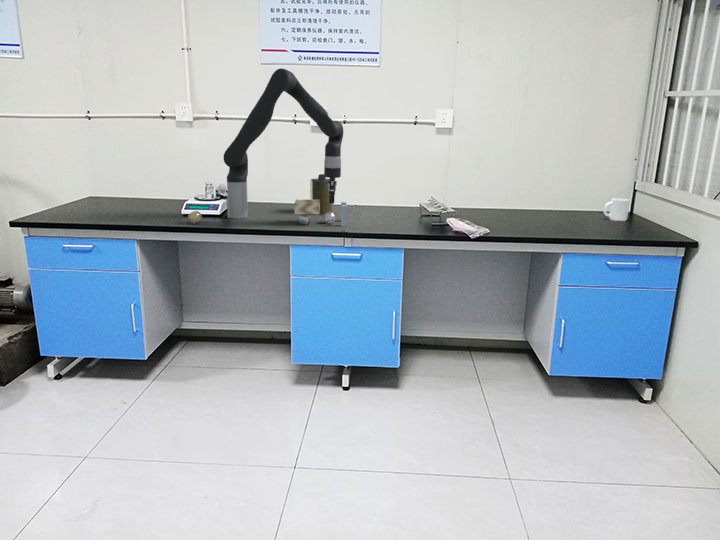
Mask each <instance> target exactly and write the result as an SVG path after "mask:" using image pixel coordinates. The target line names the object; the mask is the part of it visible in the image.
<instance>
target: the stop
mask: <svg viewBox="0 0 720 540" xmlns="http://www.w3.org/2000/svg"><path fill="white" fill-rule="evenodd" d="M340 222H341V224H340V226H341V227H347V226H348V224H347V223H348V205H347V201H340Z"/></svg>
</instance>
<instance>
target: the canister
mask: <svg viewBox="0 0 720 540" xmlns="http://www.w3.org/2000/svg"><path fill="white" fill-rule="evenodd" d="M329 179H330V178H327V177H325V176H324V173H319V174H318V177H317V178H311V200H320V212H319V214H317V215H316V216H324V215H325V213H326V212H329V211H330V212H333V204H330V203H329V200H330V195H329V191H328V181H330V180H329Z"/></svg>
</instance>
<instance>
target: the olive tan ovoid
mask: <svg viewBox="0 0 720 540" xmlns="http://www.w3.org/2000/svg"><path fill="white" fill-rule="evenodd" d="M202 217H203V216H202V213H201V212H200V211H199V210H193V211H192V212H190V213H189V214H188V215H187V221H188V222H189V223H190V224H197V223H198V222H200V221H201V220H202Z"/></svg>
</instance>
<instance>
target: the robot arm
mask: <svg viewBox="0 0 720 540" xmlns="http://www.w3.org/2000/svg"><path fill="white" fill-rule="evenodd" d="M283 93H286V94H288V95H289V96H290V97H292V98H293V99H294V100H295V101H297V103H298V104H299V106H300V107H301V108H302V110H303V111H304V112H305V114H306V115H307V116H308V117H309V118H310V119H311V120H312V121H313V122H314V123H316V125H317V126H318V128H319V129H320V131H321V132H322V133H323V134H324V135H325V136H326V137H328V140H327V143H326V144H325V147H324V163H323V164H324V166H323V167H324V168H323V174H324V176H325V177H326V178H328V179H329V180H330V181H328V191H329V195H330V200H329V203H330V204H332V205H333V204H335V196H336V191H337V182H338V181H337V180H336V179H339V178H341V177H342V176H341V175H342V159H341V158H342V157H341V149H342V148H341V147H342V144H343V143H342V142H343V138H344V127H343V123H342V122H340V121H338V120H332V118H331V117H330V116H329V114H328V112H327V110H326V109H325V108H324V107H323V106H322V105H321V104H320V103H319V102H318V101H317V100H316V99H315V98H314V97H313V96H312V95H310V93H309V92H308V91H307V90H306V88H304V87H303V85H302V84H301V83H300V81H299V80H298V79H297V76H296V75H295V74H294V73H293V72H292V71H290V70H288V69H286V68H278V69H276V70H274V72H273V73H272V75H271V76H270V79H269V81H268V82H267V85H266V87H265V89H264V91H263V93H262V94H261V96H260V97H259V99H258V100H257V102H256V103H255V105H254V107H253V108H252V110H251V111H250V113H249V115H248V116H247V118H246V120H245V121H244V123H243V124H242V127H240V130H239V132H238V134H237V135H236V136H235V138H234V139H233V140H232V141H231V143H230V145H228V147H227V149H225V151H224V153H223V161H224V164H225V165H226V166H227V167H228V170H229V171H228V173H227V175H226V187H227V188H226V189H227V190H226V191H227V198H226V207H227V209H226V212H227V213H226V214H227V219H235V220H237V219H238V220H239V219H240V220H241V219H247V218H249V211H248V210H249V207H248V202H249V201H248V182H247V181H248V175H249V159H248V158H249V157H248V153H247V151H248V149H249V147H250V146H251V145H252V144H253V143H254V142H255V141H256V140H257V139H258V138H259V137H260V136H261V135H262V134H263V133H264V132H265V130H266V128H267V127H268V125H269V124H270V122H271V120H272V118H273V114H274V110H275V106H276V104H277V102H278V100H279V98H280V96H282V94H283Z"/></svg>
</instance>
